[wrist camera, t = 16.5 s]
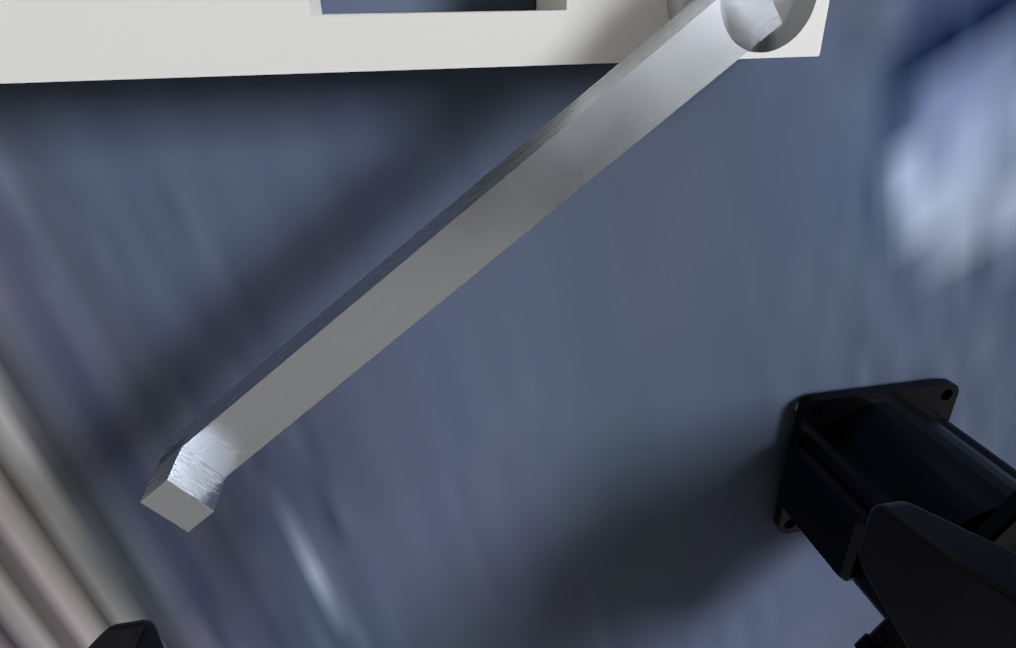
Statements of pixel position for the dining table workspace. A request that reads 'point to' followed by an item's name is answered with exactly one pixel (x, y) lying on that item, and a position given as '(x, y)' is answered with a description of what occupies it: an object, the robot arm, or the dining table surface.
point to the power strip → (323, 37)
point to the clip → (465, 240)
